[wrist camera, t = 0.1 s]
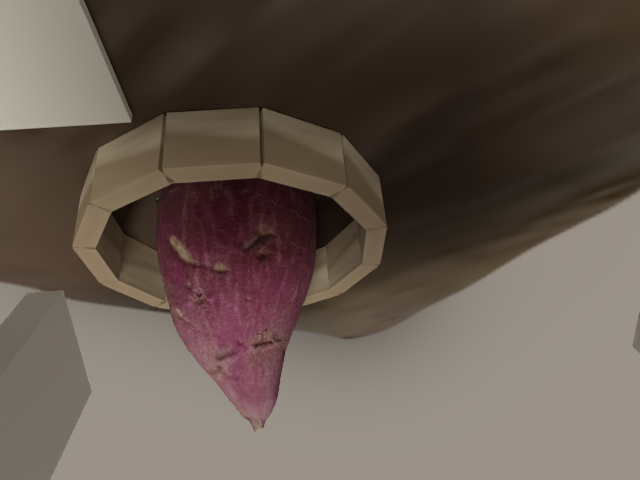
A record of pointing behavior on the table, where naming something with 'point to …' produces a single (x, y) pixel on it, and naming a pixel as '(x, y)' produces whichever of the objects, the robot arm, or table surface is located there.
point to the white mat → (55, 68)
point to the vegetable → (237, 279)
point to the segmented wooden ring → (227, 164)
